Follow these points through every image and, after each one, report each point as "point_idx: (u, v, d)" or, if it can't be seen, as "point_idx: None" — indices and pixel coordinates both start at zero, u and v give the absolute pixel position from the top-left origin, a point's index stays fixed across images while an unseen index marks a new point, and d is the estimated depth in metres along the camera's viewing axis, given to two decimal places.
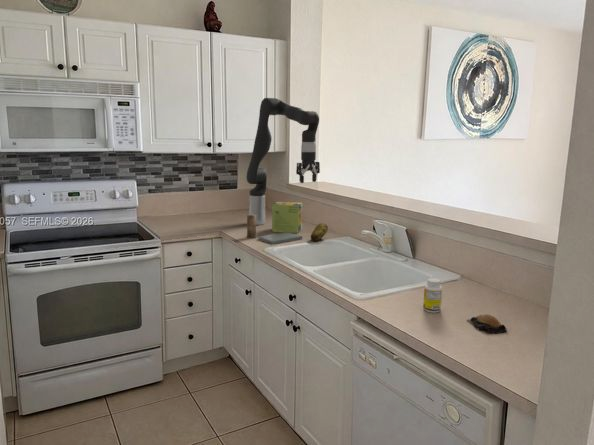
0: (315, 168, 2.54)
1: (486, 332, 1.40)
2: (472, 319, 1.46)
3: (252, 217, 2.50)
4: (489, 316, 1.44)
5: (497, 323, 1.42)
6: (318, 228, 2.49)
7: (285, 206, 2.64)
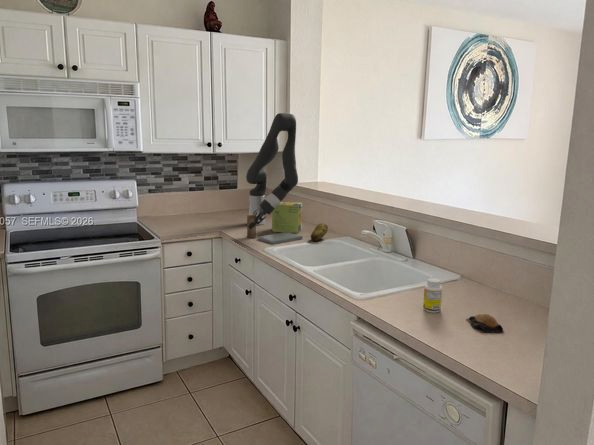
0: None
1: (481, 331, 1.40)
2: (470, 318, 1.47)
3: (252, 217, 2.50)
4: (487, 316, 1.44)
5: (494, 323, 1.42)
6: (318, 228, 2.49)
7: (285, 206, 2.64)
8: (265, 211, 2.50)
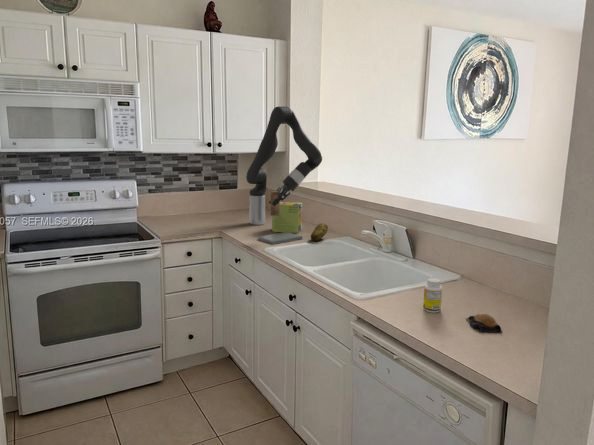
0: None
1: (479, 331, 1.41)
2: (470, 318, 1.47)
3: (276, 193, 2.43)
4: (486, 315, 1.44)
5: (492, 323, 1.42)
6: (318, 228, 2.49)
7: (285, 206, 2.64)
8: (289, 187, 2.43)
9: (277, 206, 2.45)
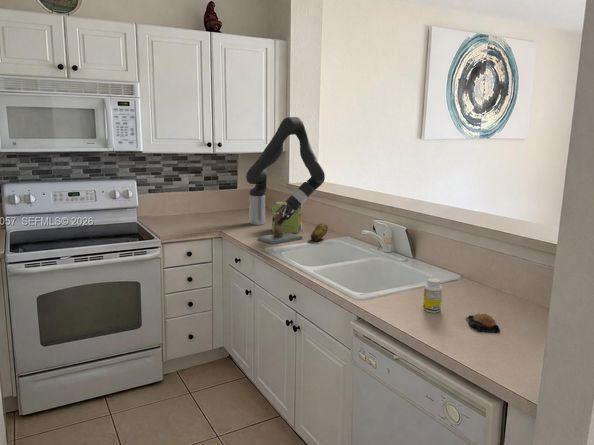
0: (280, 209, 2.53)
1: (477, 330, 1.41)
2: (469, 317, 1.48)
3: (280, 216, 2.45)
4: (485, 315, 1.44)
5: (491, 323, 1.42)
6: (318, 228, 2.49)
7: None
8: (292, 207, 2.45)
9: (281, 228, 2.47)
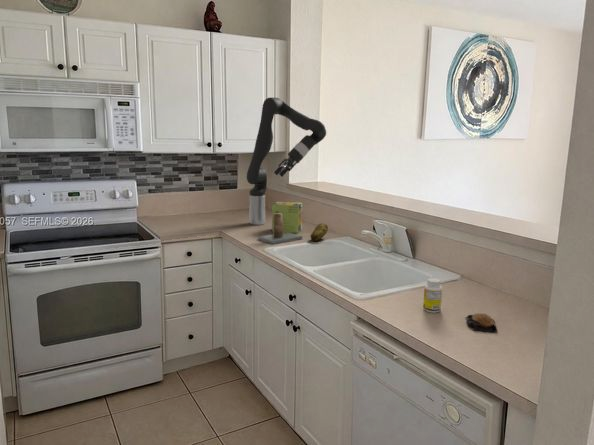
0: (282, 163, 2.60)
1: (473, 329, 1.42)
2: (469, 316, 1.48)
3: (279, 216, 2.46)
4: (483, 315, 1.44)
5: (488, 322, 1.42)
6: (318, 228, 2.48)
7: (285, 206, 2.64)
8: (294, 159, 2.52)
9: (280, 228, 2.47)
